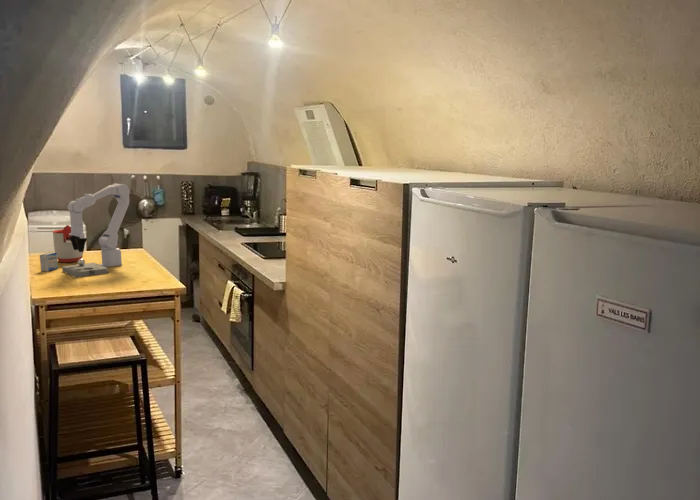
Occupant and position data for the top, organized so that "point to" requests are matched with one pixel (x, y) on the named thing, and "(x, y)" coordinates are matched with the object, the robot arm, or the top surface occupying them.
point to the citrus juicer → (65, 246)
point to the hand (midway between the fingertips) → (78, 250)
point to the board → (85, 269)
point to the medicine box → (48, 261)
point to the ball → (81, 262)
